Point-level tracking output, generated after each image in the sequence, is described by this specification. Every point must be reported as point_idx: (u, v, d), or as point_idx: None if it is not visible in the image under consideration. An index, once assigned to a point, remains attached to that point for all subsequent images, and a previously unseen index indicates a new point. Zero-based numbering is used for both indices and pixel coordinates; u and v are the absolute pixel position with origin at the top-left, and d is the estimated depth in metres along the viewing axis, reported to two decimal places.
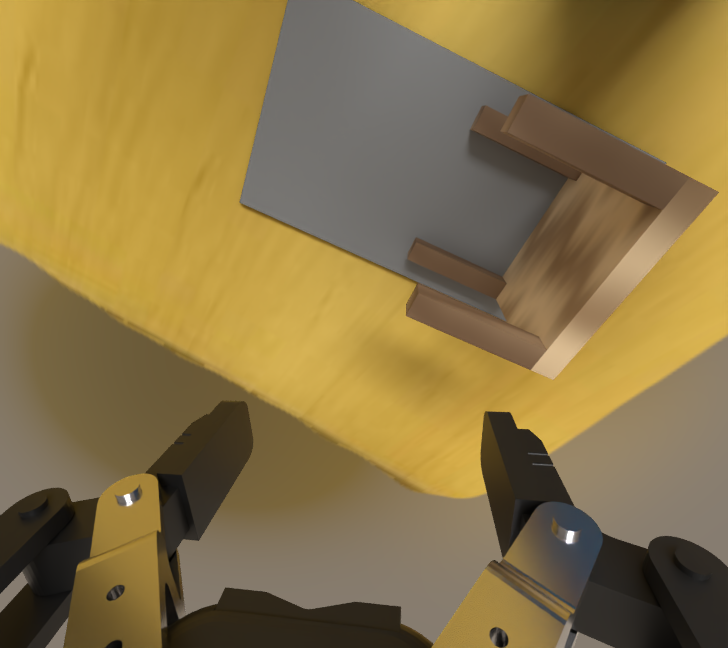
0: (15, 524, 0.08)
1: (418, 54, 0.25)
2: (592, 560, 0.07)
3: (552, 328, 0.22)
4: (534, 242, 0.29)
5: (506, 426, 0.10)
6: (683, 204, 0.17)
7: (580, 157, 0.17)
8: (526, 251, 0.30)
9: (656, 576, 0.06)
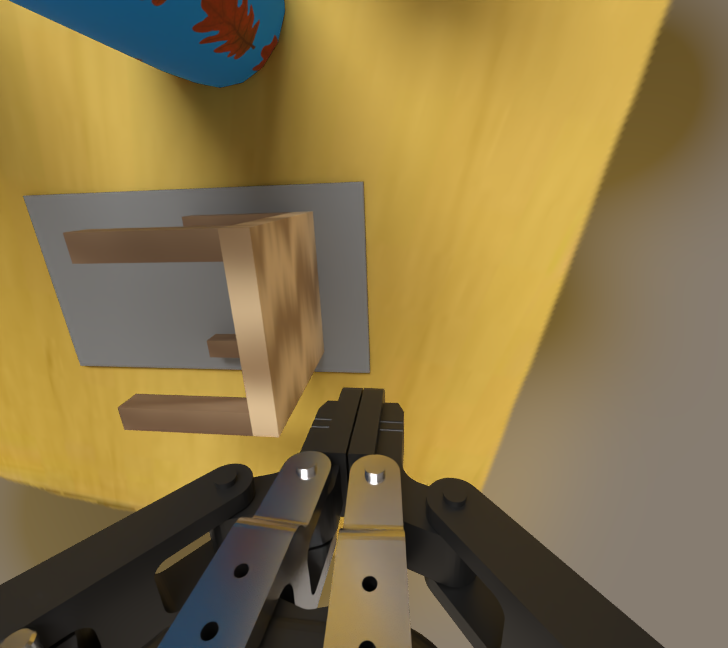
0: (208, 490, 0.08)
1: (127, 204, 0.30)
2: (379, 494, 0.08)
3: None
4: None
5: (373, 399, 0.12)
6: (233, 249, 0.18)
7: (132, 255, 0.19)
8: None
9: (438, 521, 0.08)
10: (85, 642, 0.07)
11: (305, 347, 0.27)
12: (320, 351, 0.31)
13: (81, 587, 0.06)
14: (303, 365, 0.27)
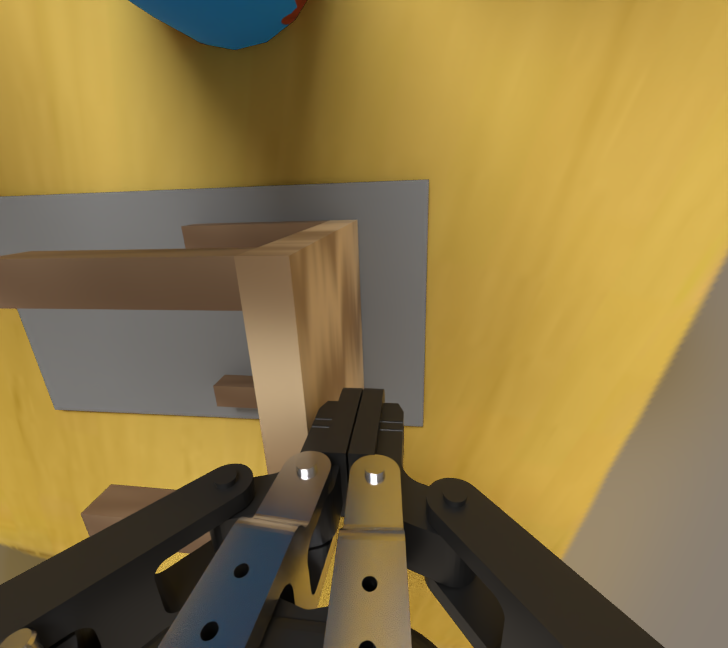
0: (208, 490, 0.08)
1: (110, 209, 0.23)
2: (379, 494, 0.08)
3: None
4: None
5: (373, 399, 0.12)
6: (260, 292, 0.10)
7: (92, 297, 0.11)
8: None
9: (438, 521, 0.08)
10: (85, 642, 0.07)
11: None
12: None
13: (81, 587, 0.06)
14: None
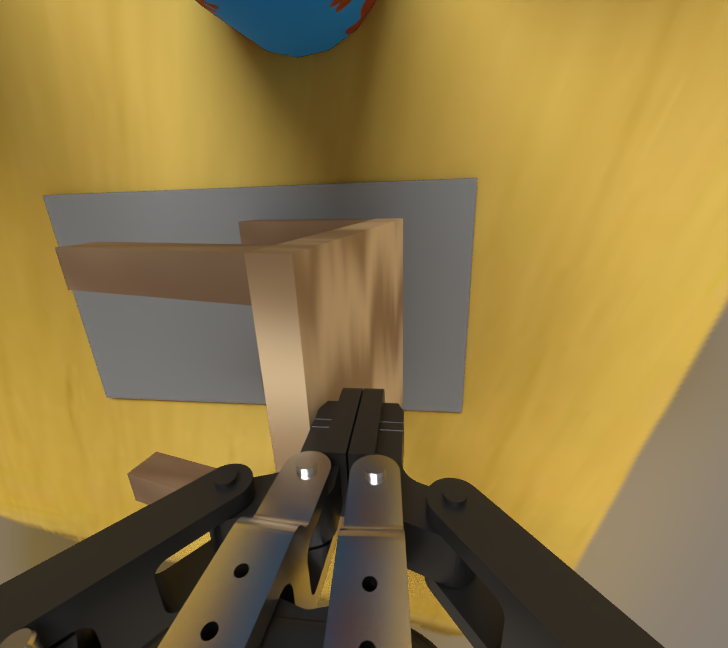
0: (208, 490, 0.08)
1: (172, 206, 0.24)
2: (378, 494, 0.08)
3: None
4: None
5: (373, 399, 0.12)
6: (266, 288, 0.11)
7: (133, 284, 0.13)
8: None
9: (438, 521, 0.08)
10: (85, 642, 0.07)
11: None
12: None
13: (81, 587, 0.06)
14: None
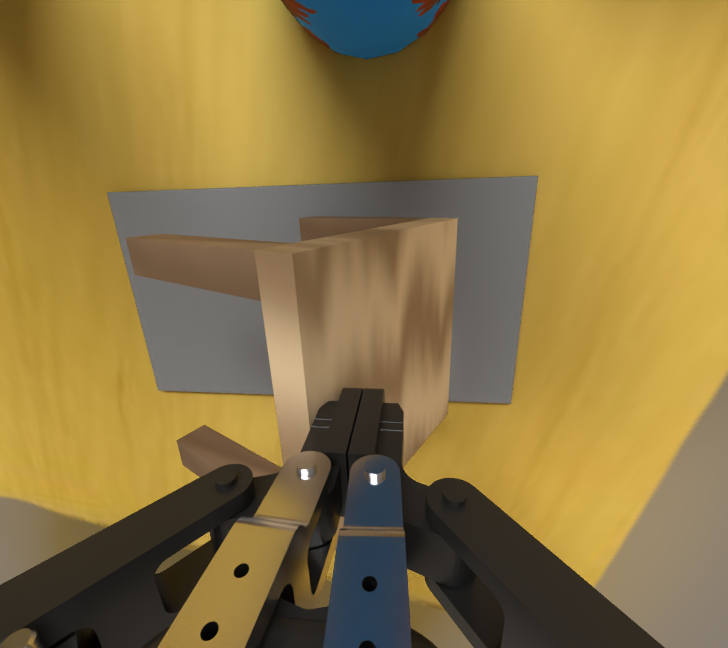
0: (208, 490, 0.08)
1: (235, 203, 0.25)
2: (379, 494, 0.08)
3: None
4: None
5: (373, 399, 0.12)
6: (272, 285, 0.11)
7: (176, 273, 0.14)
8: None
9: (438, 521, 0.08)
10: (85, 642, 0.07)
11: (408, 416, 0.19)
12: (439, 415, 0.22)
13: (81, 587, 0.06)
14: None
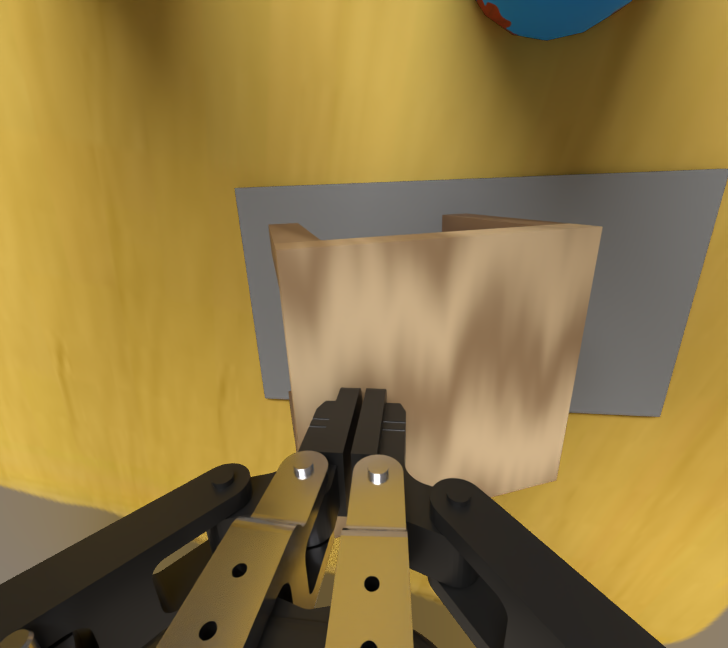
0: (205, 490, 0.08)
1: (376, 199, 0.23)
2: (382, 494, 0.08)
3: None
4: None
5: (375, 399, 0.12)
6: (278, 277, 0.12)
7: None
8: None
9: (442, 520, 0.08)
10: (82, 643, 0.07)
11: (463, 455, 0.16)
12: (535, 475, 0.17)
13: (79, 588, 0.06)
14: None
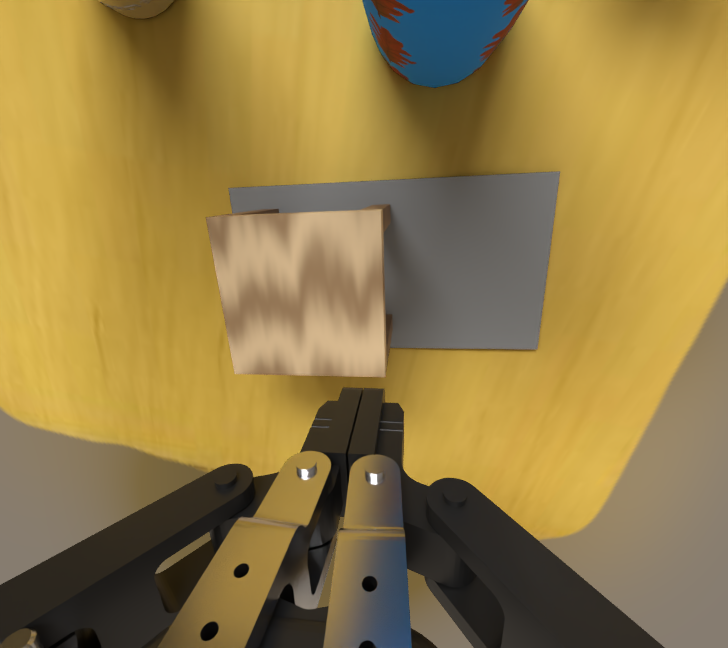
0: (208, 490, 0.08)
1: (328, 194, 0.33)
2: (379, 494, 0.08)
3: None
4: None
5: (373, 399, 0.12)
6: None
7: None
8: None
9: (438, 521, 0.08)
10: (85, 642, 0.07)
11: (315, 342, 0.27)
12: (368, 369, 0.28)
13: (81, 587, 0.06)
14: (304, 355, 0.28)
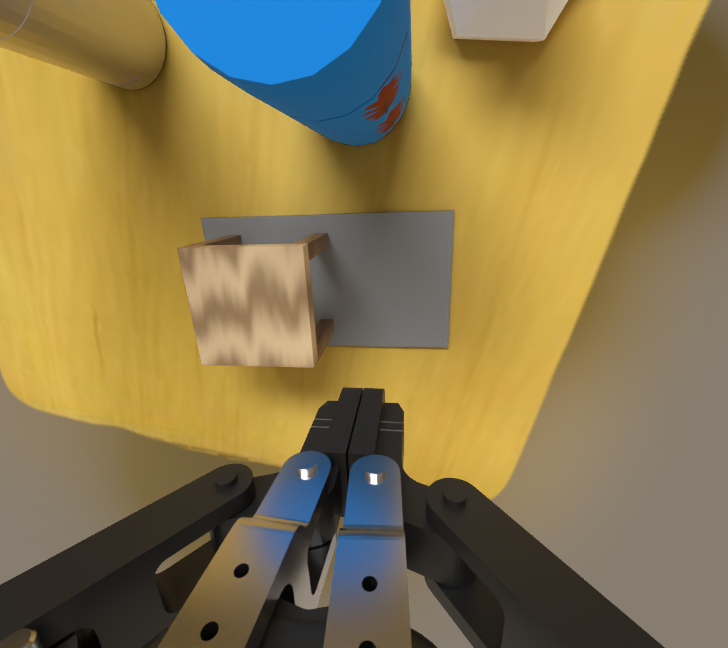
0: (208, 490, 0.08)
1: (279, 224, 0.42)
2: (379, 494, 0.08)
3: None
4: None
5: (373, 399, 0.12)
6: None
7: None
8: None
9: (438, 521, 0.08)
10: (85, 642, 0.07)
11: (260, 341, 0.36)
12: (301, 361, 0.37)
13: (81, 587, 0.06)
14: (253, 350, 0.37)
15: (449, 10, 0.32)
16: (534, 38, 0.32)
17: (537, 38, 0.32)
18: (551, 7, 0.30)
